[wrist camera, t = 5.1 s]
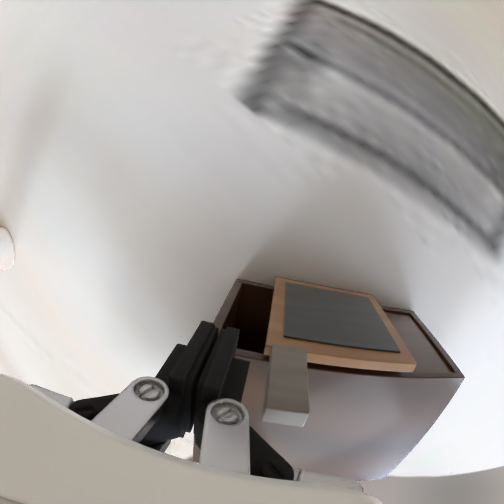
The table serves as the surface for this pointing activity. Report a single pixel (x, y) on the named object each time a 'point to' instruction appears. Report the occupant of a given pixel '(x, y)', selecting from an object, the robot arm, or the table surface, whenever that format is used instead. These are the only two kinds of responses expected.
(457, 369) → the cabinet
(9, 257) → the beer glass
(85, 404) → the robot arm
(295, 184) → the table surface
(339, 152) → the table surface
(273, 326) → the sliding door
